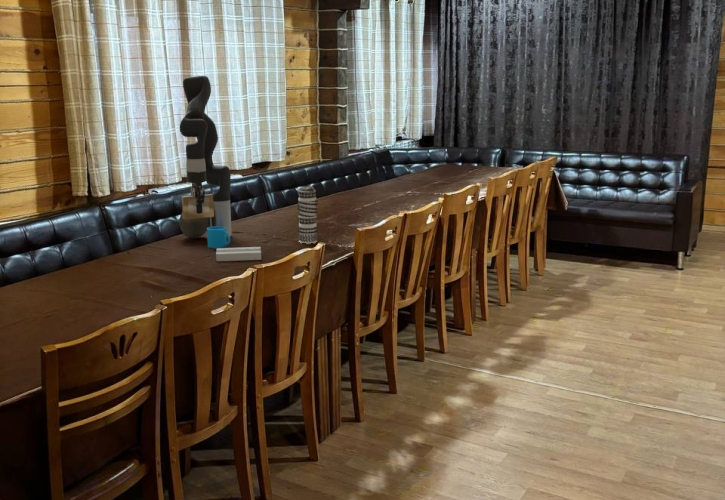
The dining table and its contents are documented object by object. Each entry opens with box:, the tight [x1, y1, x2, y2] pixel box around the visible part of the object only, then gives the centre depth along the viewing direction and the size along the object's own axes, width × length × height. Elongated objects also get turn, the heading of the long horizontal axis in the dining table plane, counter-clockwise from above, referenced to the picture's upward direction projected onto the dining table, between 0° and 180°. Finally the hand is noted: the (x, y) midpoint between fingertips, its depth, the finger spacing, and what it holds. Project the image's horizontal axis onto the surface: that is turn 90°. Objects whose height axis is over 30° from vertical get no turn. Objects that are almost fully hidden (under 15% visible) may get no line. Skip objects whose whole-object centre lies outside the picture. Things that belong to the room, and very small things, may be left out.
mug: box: [206, 226, 231, 249], centre depth 295 cm, size 12×8×8 cm
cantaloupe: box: [178, 211, 211, 240], centre depth 309 cm, size 14×14×15 cm
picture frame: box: [181, 193, 214, 219], centre depth 271 cm, size 3×12×9 cm, turn 119°
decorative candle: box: [296, 186, 318, 245], centre depth 302 cm, size 9×9×25 cm
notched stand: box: [215, 246, 262, 262], centre depth 277 cm, size 10×18×3 cm, turn 100°
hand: (198, 212), depth 271 cm, fingers closed on picture frame, 2 cm apart
